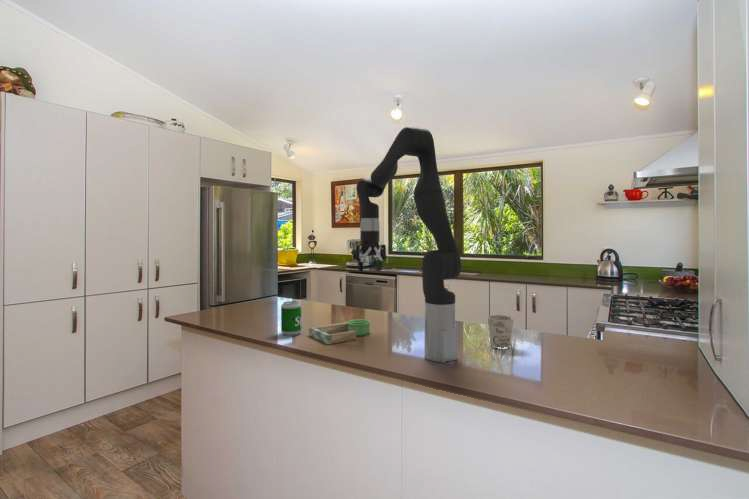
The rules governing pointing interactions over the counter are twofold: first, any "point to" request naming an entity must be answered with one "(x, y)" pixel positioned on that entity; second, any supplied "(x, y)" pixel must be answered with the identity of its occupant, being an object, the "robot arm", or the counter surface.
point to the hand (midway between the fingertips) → (369, 271)
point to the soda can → (291, 318)
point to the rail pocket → (325, 332)
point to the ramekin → (359, 326)
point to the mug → (500, 330)
